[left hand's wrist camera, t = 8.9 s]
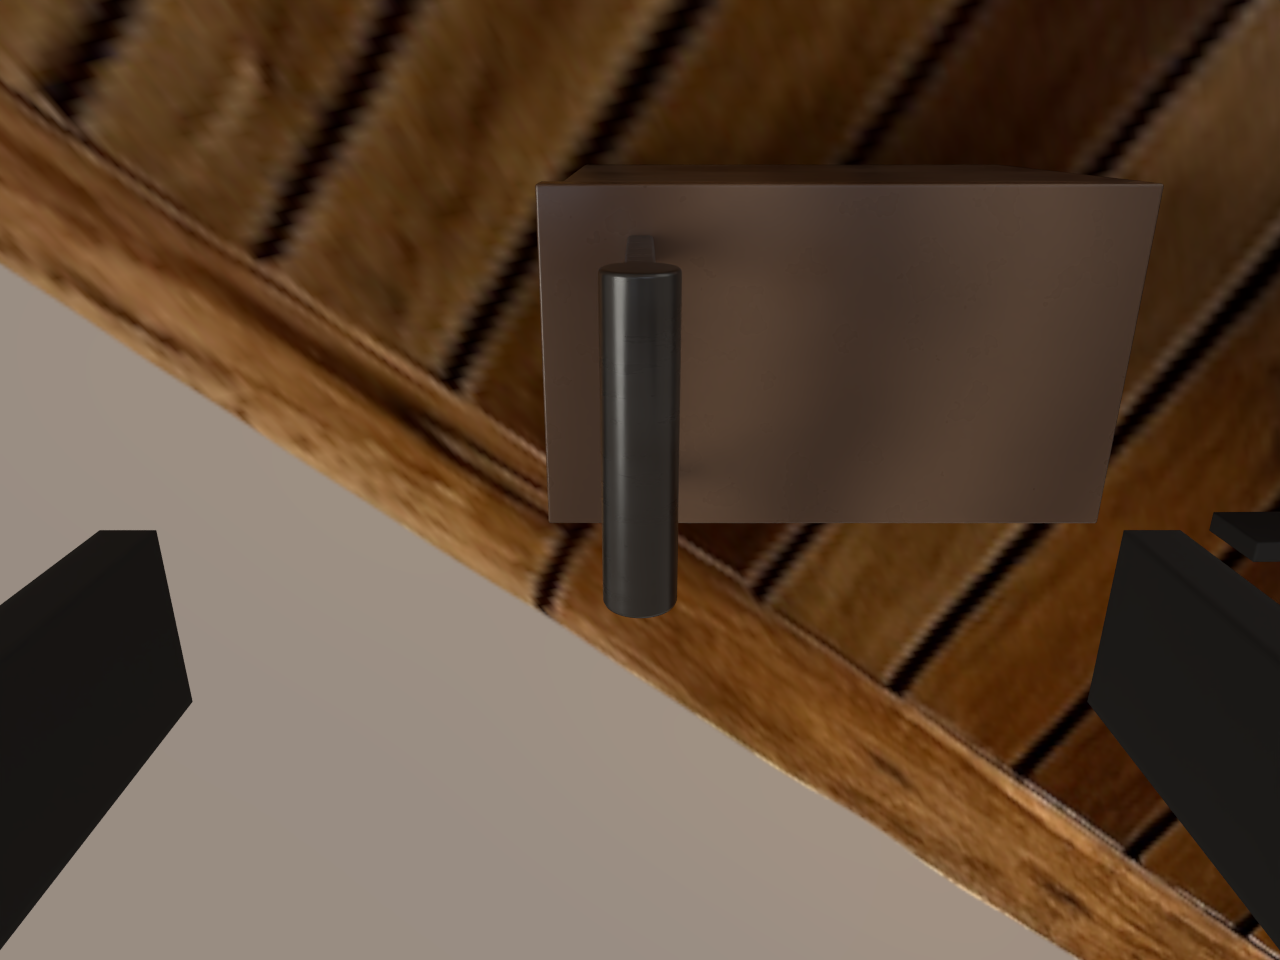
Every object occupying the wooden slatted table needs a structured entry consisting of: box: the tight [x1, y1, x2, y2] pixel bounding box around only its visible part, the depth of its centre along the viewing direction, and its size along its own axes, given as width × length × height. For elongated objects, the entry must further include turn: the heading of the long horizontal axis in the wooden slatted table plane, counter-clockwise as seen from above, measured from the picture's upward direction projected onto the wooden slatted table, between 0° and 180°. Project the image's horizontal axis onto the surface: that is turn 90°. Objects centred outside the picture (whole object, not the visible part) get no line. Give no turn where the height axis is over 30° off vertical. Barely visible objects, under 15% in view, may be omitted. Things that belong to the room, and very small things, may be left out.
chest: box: [563, 165, 1141, 182], centre depth 32 cm, size 16×10×11 cm, turn 90°
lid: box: [535, 182, 1163, 618], centre depth 23 cm, size 17×10×9 cm, turn 90°
